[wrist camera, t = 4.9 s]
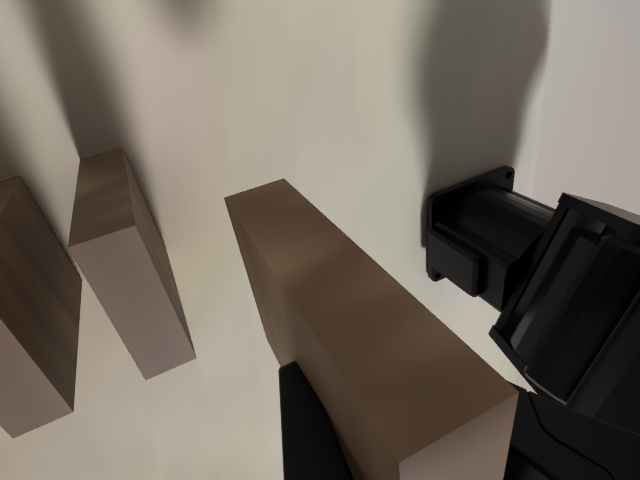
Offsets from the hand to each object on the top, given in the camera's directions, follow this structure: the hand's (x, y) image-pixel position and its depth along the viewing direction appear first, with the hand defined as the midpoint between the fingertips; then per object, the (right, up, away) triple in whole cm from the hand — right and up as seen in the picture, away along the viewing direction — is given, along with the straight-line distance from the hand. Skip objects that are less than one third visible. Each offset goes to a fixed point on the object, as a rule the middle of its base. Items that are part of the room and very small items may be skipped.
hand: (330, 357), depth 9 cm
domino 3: (-2, +2, +3) cm, 4 cm away
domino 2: (-8, +4, +8) cm, 12 cm away
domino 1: (-12, +3, +7) cm, 14 cm away
